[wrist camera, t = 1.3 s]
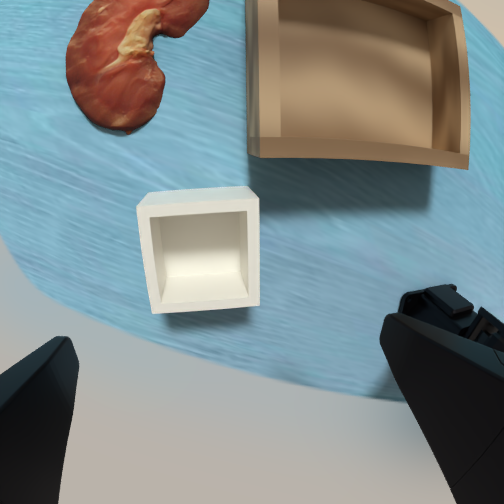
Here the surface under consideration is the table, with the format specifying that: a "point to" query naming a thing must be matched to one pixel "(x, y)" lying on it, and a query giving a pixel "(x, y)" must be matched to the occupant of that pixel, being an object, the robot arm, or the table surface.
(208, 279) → the cream crate
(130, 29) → the steak
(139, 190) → the table surface
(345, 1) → the walnut crate
